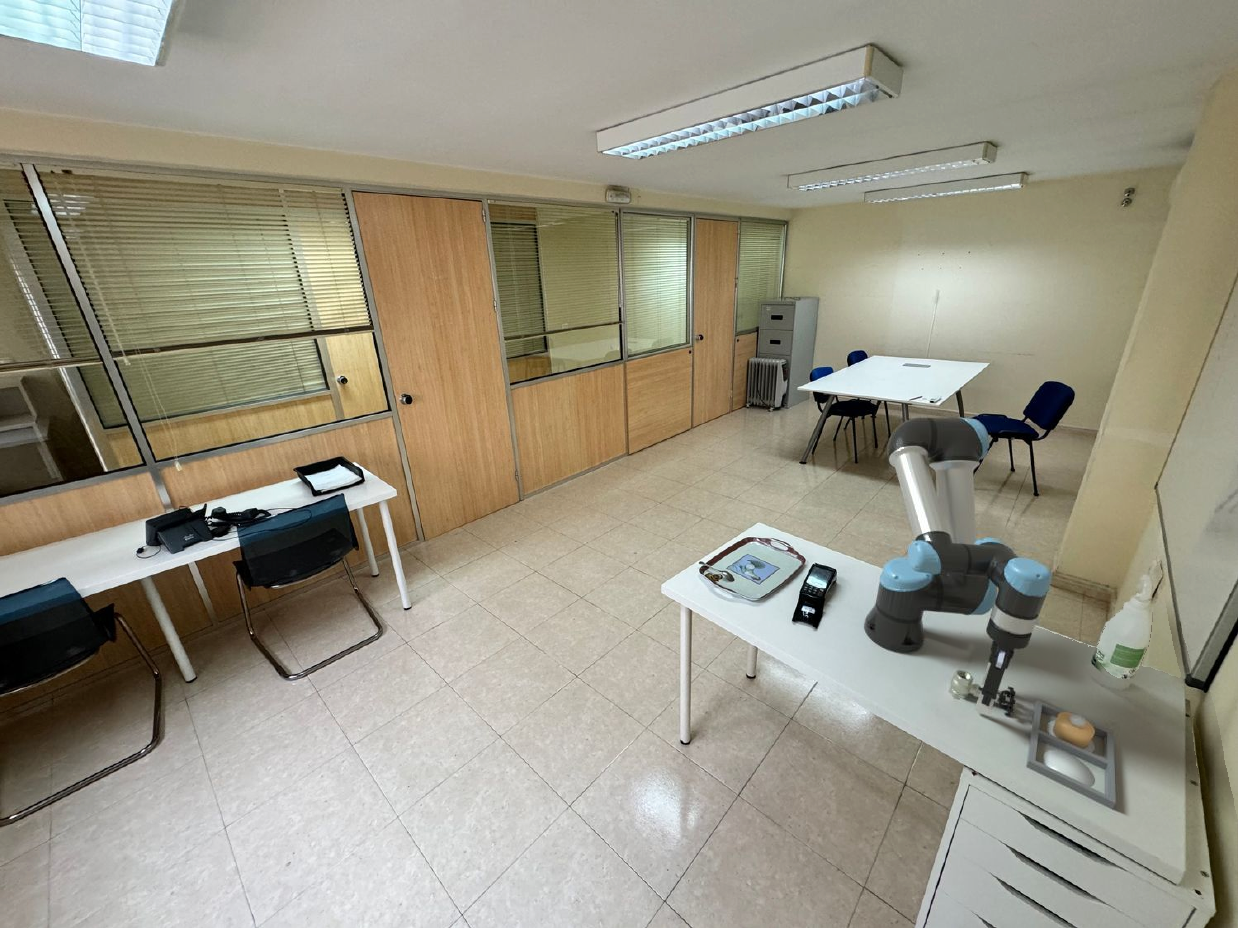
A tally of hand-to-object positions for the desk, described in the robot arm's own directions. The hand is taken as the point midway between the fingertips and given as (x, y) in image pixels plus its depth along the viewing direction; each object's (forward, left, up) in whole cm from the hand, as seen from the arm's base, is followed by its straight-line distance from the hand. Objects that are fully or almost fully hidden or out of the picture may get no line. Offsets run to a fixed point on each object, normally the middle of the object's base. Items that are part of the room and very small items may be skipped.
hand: (985, 698), depth 115 cm
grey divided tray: (+16, -4, -2) cm, 16 cm away
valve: (-1, 0, -2) cm, 3 cm away
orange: (+16, +1, -1) cm, 16 cm away
